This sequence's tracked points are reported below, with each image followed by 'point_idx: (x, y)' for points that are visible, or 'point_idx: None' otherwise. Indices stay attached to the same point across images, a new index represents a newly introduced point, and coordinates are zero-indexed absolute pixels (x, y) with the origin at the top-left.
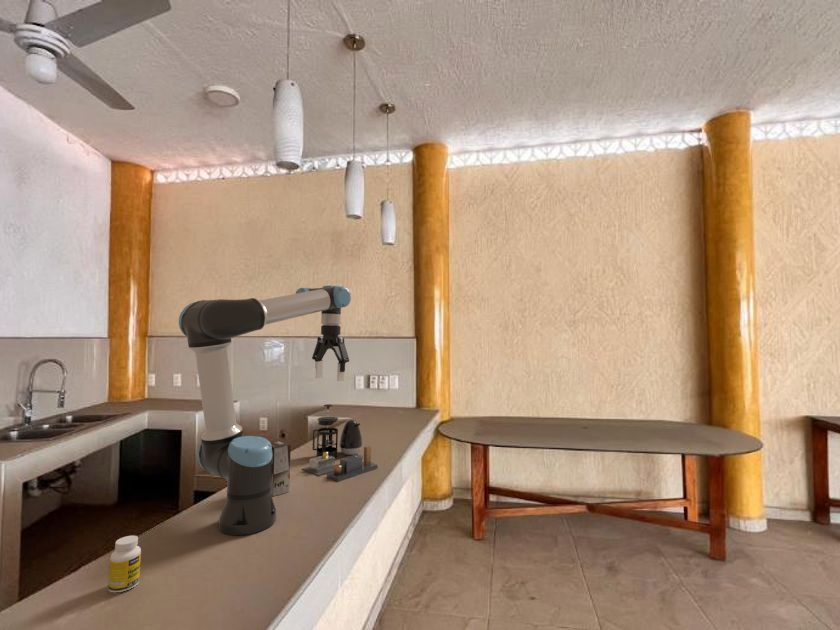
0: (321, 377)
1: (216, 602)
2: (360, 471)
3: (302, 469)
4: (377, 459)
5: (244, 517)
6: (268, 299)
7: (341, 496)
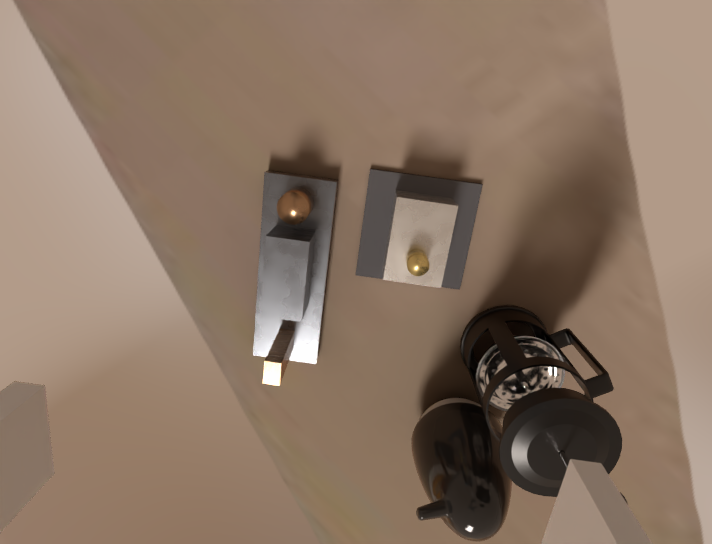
0: (546, 532)
1: None
2: (258, 274)
3: (479, 184)
4: (323, 419)
5: None
6: None
7: (153, 68)
